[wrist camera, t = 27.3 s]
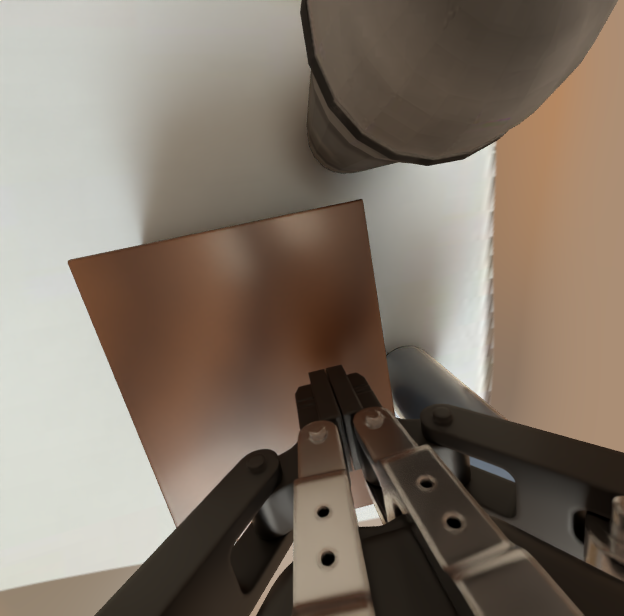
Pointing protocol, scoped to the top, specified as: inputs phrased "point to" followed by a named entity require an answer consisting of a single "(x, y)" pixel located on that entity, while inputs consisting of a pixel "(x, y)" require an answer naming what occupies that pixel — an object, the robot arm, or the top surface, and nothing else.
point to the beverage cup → (434, 73)
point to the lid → (234, 337)
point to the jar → (432, 391)
